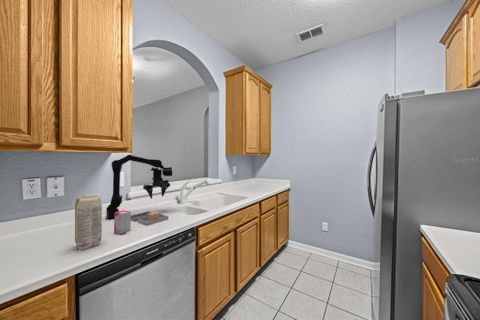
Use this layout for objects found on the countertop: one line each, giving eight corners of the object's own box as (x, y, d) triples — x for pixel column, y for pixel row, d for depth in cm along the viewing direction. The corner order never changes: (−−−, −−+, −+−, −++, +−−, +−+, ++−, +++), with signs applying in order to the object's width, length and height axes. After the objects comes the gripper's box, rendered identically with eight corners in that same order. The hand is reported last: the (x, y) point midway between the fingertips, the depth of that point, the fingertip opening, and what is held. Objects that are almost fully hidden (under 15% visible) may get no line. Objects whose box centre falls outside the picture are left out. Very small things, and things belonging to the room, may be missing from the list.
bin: (135, 222, 122) (135, 219, 122) (126, 219, 127) (126, 216, 127) (156, 216, 135) (156, 213, 135) (148, 214, 140) (148, 211, 140)
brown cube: (152, 222, 121) (152, 214, 120) (147, 221, 123) (147, 213, 123) (159, 220, 125) (159, 212, 125) (154, 219, 127) (154, 211, 127)
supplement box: (131, 230, 108) (131, 210, 108) (121, 234, 102) (121, 213, 102) (123, 229, 110) (123, 209, 110) (113, 233, 104) (113, 212, 104)
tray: (146, 226, 115) (146, 222, 115) (137, 223, 120) (137, 219, 120) (168, 219, 128) (168, 216, 128) (159, 217, 133) (159, 213, 133)
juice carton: (98, 240, 96) (98, 192, 96) (102, 244, 91) (103, 194, 90) (73, 246, 89) (73, 195, 88) (77, 252, 84) (77, 197, 83)
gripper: (152, 178, 129) (151, 201, 129) (174, 176, 145) (174, 196, 145) (142, 177, 135) (142, 199, 135) (165, 175, 151) (165, 195, 151)
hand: (157, 197), depth 142 cm, fingers open, 9 cm apart
